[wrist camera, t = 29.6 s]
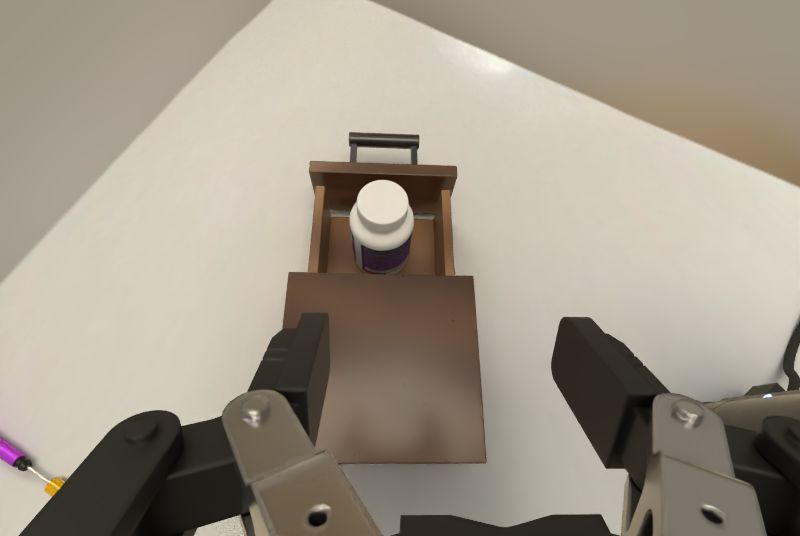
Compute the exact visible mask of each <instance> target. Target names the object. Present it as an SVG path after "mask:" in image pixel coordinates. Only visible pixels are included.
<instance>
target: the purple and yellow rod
mask: <svg viewBox="0 0 800 536" xmlns="http://www.w3.org/2000/svg"><path fill="white" fill-rule="evenodd" d="M0 458H1V459H2V460H4V461H5V462H6V463H8V464H9V465H11V466H12V467H18V470H21V471H26V470H29V471H31V472H32V473H33V474H35V475H36V476H38V477H39V478H41V479H42V480H43V481H45V482H46V483H48V484H47V485H46V487H45V489H44V491H45V492H46V493H48V494H49V495H51V496H52V497H53V496H54V494H55V493H56V492H57V491H58V490H59V489H60V488H61V486H62V485H63V484H64V483H65V481H63V480H62V479H60V478H59V477H57V478H54V479H53V480H51V481H50V480H48V479H47V478H45V477H44V476H43V475H41V474H40V473H38V472H37V471H36V470H34V469H33V468H31V466H32V462H31V461H30V460H29V459H27V458H26V456H25V455H24V454H23V453H21V452H20V451H18V450H17V449H15V448H14V447H13V446H11V445H10V444H8V443H7V442H6V441H4V440H3V439H1V438H0Z"/></svg>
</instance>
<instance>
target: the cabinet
mask: <svg viewBox="0 0 800 536" xmlns="http://www.w3.org/2000/svg"><path fill="white" fill-rule="evenodd" d="M303 312H328V315H329V334H330V373H329V380H328V385H327V390H326V395H325V400H324V405H323V410H322V415H321V420H320V425H319V430H318V435H317V441H316V446H315V449H316V450H317V452H318V453H319V452H321V451H323V450H328V451H329V452H330V453H331V454H332V455H333V457H334V458H335V460H336V462H337V463H338V464H457V463H486V462H487V461H486V447H485V433H484V419H483V405H482V391H481V377H480V363H479V349H478V335H477V321H476V307H475V293H474V279H473V276H448V275H401V274H353V273H306V272H289V274H288V283H287V292H286V301H285V310H284V320H283V328H297V326H298V323H299V320H300V318H301V315H302V313H303Z"/></svg>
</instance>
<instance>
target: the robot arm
mask: <svg viewBox="0 0 800 536" xmlns="http://www.w3.org/2000/svg"><path fill="white" fill-rule="evenodd" d="M799 344H800V323H799V324H798V326H797V328H796V330H795V332H794V333H793V335H792V337H791V340H790V342H789V344H788V347H787V350H786V353H785V357H784V363H783V369H784V372H785V374H786V375H787V376H788V377H789V385H788V389H787V391H785V390H784V389H783V388H782V387H781V386H780V385H779V384H778V383H774V384H767V385H760V386H753V387H752V388H751V389H750V390H749V391H748V392H747V393H746V394H745V395H744V396H742V397H734V398H726V399H722V400H721V401H720V402H704V403H701V402H699V401H697V400H695V399H692V398H690V397H687V396H684V395H680V394H674V393H670V392H669V391H668V390H667V388H666V387H665V386H664V385H663V384H662V383H661V382H660V381H659V380H658V379H657V378H656V377H655V376H654V375H653V374H652V373H651V372H650V371H649V370H648V369H647V367H646V366H643V363H642V362H641V361H640V360H639V359H638V358H637V357H634V354H633V353H632V352H631V351H630V350H629V349H628V348H627V346H626V345H625V344H624V343H622V342H620V341H619V340H617V339H616V338H614V337H612V336H611V335H609V334H605V333H604V332H603V331H602V330H601V329H600V328H599V326H598V325H597V324H596V323H595V322H594V321H593V320H592V319H591V318H589V317H563V318H562V319H561V321H560V324H559V328H558V333H557V337H556V342H555V347H554V351H553V356H552V362H551V370H552V375H553V379H554V381H555V383H556V384H557V386H558V388H559V390H560V391H561V393H562V395H563V396H564V398H565V400H566V401H567V403H568V405H569V407H570V408H571V410H572V412H573V413H574V415H575V417H576V418H577V420H578V422H579V424H580V425H581V427H582V429H583V430H584V432H585V434H586V435H587V437H588V439H589V441H590V442H591V444H592V446H593V447H594V449H595V451H596V452H597V454H598V456H599V458H600V459H601V461H602V463H603V464H604V466H605V468H606V469H626V470H627V472H628V473H629V474H628V477H627V479H626V482H625V489H624V501H623V514H622V527H621V536H800V390H799V388H800V378H799V376H798V374H797V373H796V372H795V370H794V361H795V356H796V353H797V350H798V347H799ZM329 373H330V334H329V315H328V312H303V313H302V315H301V318H300V320H299V323H298V326H297V328H283V329H282V330H281V331H280V332H279V333H277V334H276V335H275V336H274V337H272V339H271V341H270V344H269V346H268V348H267V351H266V352H265V354H264V357H263V361H261V363H260V365H259V367H258V370H257V372H256V374H255V376H254V378H253V381H252V383H251V385H250V387H249V389H248V391H247V393H244V394H242V395H240V396H238V397H236V398H235V399H233V400H232V401H231V402H230V403H229V404H228V405H227V406H226V407H225V409H224V411H223V413H222V416H220V417H217V418H215V419H211V420H207V421H203V422H198V423H194V424H189V425H185V426H181V424H180V420H179V418H178V417H177V416H176V415H175V414H173V413H171V412H168V411H162V410H154V411H148V412H143V413H140V414H137V415H134V416H132V417H129V418H127V419H126V420H124V421H122V422H120V423H119V424H117V425H116V426H115V427H114V428H112V429H111V430H110V431H109V432H108V433H107V434H106V436H105V437H104V438H103V439H102V440H101V441H100V443H99V444H98V445H97V446H96V447H95V448H94V449H93V451H92V452H91V453H90V454H89V455H88V456H87V458H86V459H85V460H84V461H83V462H82V463H81V464H80V466H79V467H78V468H77V469H76V470H75V471H74V473H73V474H72V475H71V476H70V477H69V478H68V479H67V481H66V482H65V483H64V484H63V485H62V486H61V488H60V489H59V490H58V491H57V492H56V493H55V494H54V496H53V497H52V498H51V499H50V500H49V501H48V503H47V504H46V505H45V506H44V507H43V508H42V509H41V511H40V512H39V513H38V514H37V515H36V516H35V517H34V519H33V520H32V521H31V522H30V523H29V524H28V526H27V527H26V528H25V529H24V530H23V531H22V532H21V534H20V535H19V536H194V534H195V532H196V530H197V528H198V527H201V526H205V525H208V524H211V523H215V522H218V521H221V520H225V519H228V518H231V517H234V516H238V517H239V520H240V523H241V526H242V529H243V532H244V535H245V536H383V535H382V534H381V532H380V530H379V529H378V527H377V526H376V524H375V522H374V521H373V519H372V518H371V516H370V514H369V513H368V511H367V510H366V508H365V506H364V505H363V503H362V502H361V500H360V498H359V497H358V495H357V494H356V492H355V490H354V489H353V487H352V486H351V484H350V482H349V481H348V479H347V478H346V476H345V474H344V473H343V471H342V470H341V468H340V466H339V465H338V463H337V462H336V460H335V458H334V457H333V455H332V454H331V453H330V452H329V451H328V450H323V451H321V452H319V453H318V452H317V450H316V449H315V446H316V441H317V435H318V430H319V425H320V420H321V415H322V410H323V405H324V400H325V395H326V390H327V385H328V380H329ZM392 536H619V535H616V534H612V533H610V531H609V529H608V527H607V525H606V523H605V521H604V519H603V517H602V515H601V514H588V515H550V516H546V517H543V518H539V519H536V520H532V521H529V522H526V523H522V524H519V525H515V526H512V527H498V526H494V525H490V524H486V523H482V522H477V521H473V520H469V519H465V518H461V517H456V516H452V515H401V519H400V533H398V534H395V535H392Z"/></svg>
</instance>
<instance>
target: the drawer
mask: <svg viewBox="0 0 800 536" xmlns="http://www.w3.org/2000/svg"><path fill="white" fill-rule="evenodd" d="M349 146H350V147H351V152H350V162H325V161H310V166H309V174H310V178H311V182H312V186H313V190H314V194H315V201H314V212H313V223H312V234H311V245H310V256H309V267H308V273H353V274H365V273H364V272H363V271H361V269H360V268H359V267H358V266H357V264H356V262H355V259H354V256H353V249H352V241H351V232H350V222H349V219H350V217H331V215H330V210H335V211H351V210H352V208H353V206H354V204H355V203H356V202H357V197H358V194H359V192H360V191H361V189H362V188H363V187H364V186H365V185H367V184H368V183H370V182H373V181H377V180H388V181H392V182H394V183H396V184H398V185H399V186H401V187H402V188H403V189H404V191H405V192H406V194H407V196H408V201H409V206H410V207H411V209H412V212H413V213H435V216H434V220H429V219H414V227H413V233H412V238H411V244H410V251H409V256H408V260H407V262H406V264H405V266H404V267H403V269H402V270H401V271H400V272H398V273H397V274H401V275H448V276H455V275H454V256H453V237H452V218H451V199H450V198H451V195H452V192H453V189H454V185H455V182H456V179H457V167H456V166H441V165H417V149H418V148H419V135H410V134H383V133H357V132H350V133H349ZM357 147H370V148H398V149H411V164H383V163H356V161H357Z"/></svg>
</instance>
